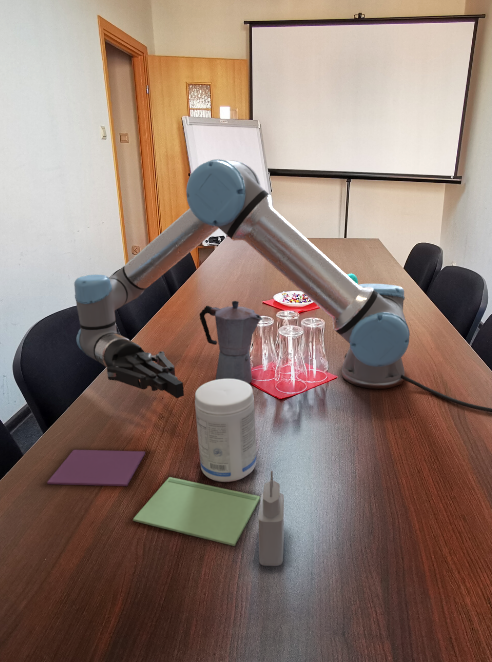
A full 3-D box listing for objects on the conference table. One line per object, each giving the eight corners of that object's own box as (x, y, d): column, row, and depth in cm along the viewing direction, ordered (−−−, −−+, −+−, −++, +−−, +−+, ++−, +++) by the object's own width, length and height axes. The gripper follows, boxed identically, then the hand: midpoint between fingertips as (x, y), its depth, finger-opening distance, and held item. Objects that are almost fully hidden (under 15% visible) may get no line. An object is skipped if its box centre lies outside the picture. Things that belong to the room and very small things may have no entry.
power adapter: (258, 565, 60) (257, 489, 56) (261, 533, 65) (260, 462, 61) (282, 565, 60) (282, 490, 56) (283, 534, 65) (284, 462, 61)
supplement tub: (242, 444, 85) (240, 373, 80) (266, 473, 78) (265, 395, 73) (192, 460, 81) (186, 385, 76) (211, 492, 73) (206, 410, 68)
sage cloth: (260, 498, 72) (260, 495, 72) (234, 546, 63) (234, 543, 62) (169, 478, 76) (169, 476, 76) (133, 521, 67) (132, 518, 67)
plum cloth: (145, 453, 82) (145, 451, 82) (126, 486, 74) (126, 484, 74) (73, 451, 83) (73, 449, 83) (47, 484, 74) (46, 482, 74)
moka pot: (257, 392, 105) (256, 308, 98) (194, 385, 108) (188, 304, 101) (268, 375, 114) (267, 297, 107) (209, 369, 116) (205, 293, 110)
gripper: (149, 362, 106) (210, 396, 90) (93, 379, 97) (149, 421, 81) (146, 331, 103) (208, 361, 88) (88, 346, 94) (145, 383, 79)
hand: (179, 390), depth 85 cm, fingers closed
